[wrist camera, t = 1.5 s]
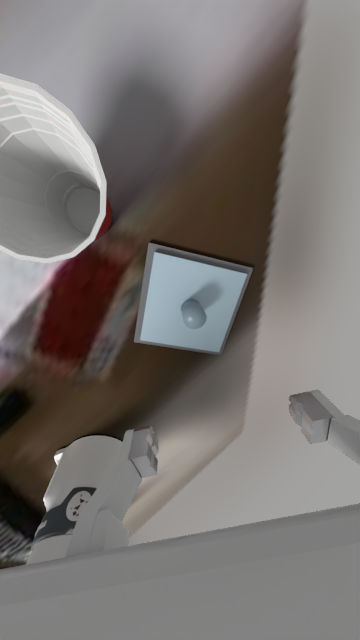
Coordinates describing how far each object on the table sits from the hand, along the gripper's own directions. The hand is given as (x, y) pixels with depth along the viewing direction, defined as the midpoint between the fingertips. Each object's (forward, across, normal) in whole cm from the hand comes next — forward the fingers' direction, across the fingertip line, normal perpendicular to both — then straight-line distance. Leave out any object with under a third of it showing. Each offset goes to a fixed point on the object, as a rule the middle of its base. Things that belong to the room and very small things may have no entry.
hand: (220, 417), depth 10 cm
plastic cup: (+20, +10, -16) cm, 27 cm away
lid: (+20, 0, 0) cm, 20 cm away
